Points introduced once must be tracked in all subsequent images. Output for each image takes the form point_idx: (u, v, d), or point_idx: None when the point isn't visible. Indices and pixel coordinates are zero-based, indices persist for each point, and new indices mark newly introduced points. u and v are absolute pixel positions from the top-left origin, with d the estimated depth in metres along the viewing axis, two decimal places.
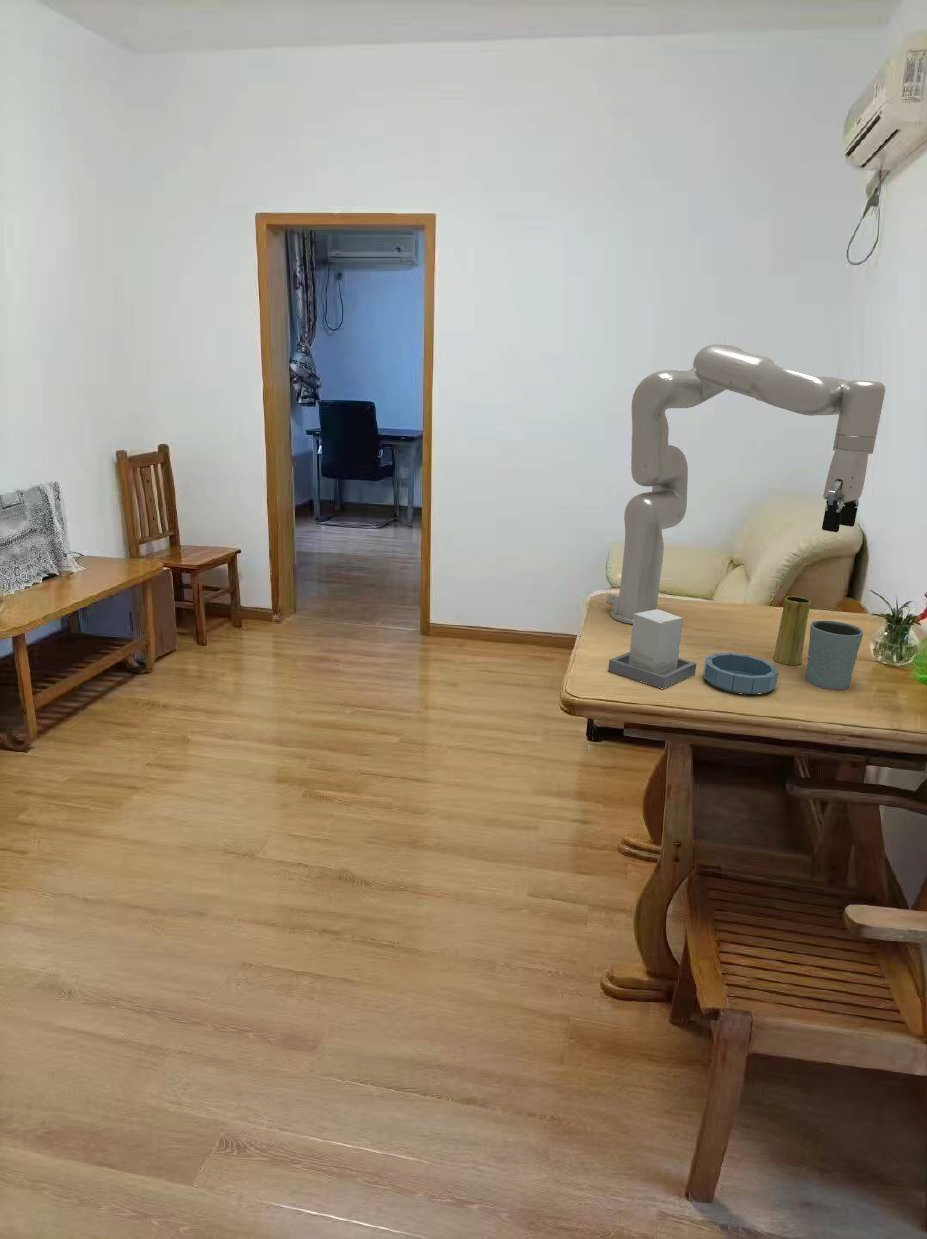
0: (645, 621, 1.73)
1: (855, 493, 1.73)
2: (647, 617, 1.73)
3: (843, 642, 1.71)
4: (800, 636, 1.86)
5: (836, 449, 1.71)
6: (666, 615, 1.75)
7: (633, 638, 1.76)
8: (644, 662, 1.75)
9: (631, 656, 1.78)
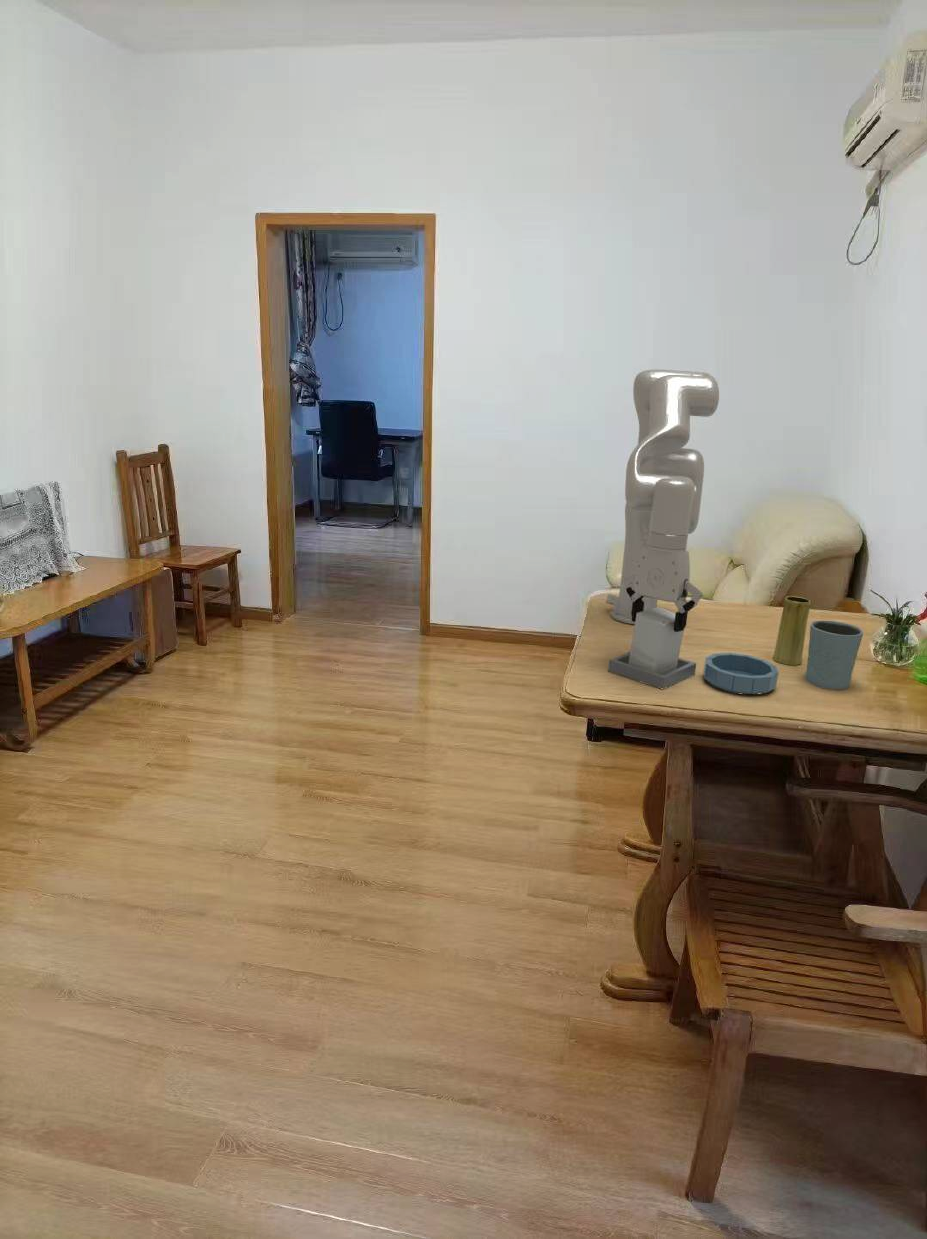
0: (648, 621, 1.72)
1: None
2: (650, 617, 1.72)
3: (843, 642, 1.71)
4: (800, 636, 1.86)
5: (674, 550, 1.66)
6: (669, 615, 1.73)
7: (635, 637, 1.75)
8: (645, 661, 1.74)
9: (632, 654, 1.77)
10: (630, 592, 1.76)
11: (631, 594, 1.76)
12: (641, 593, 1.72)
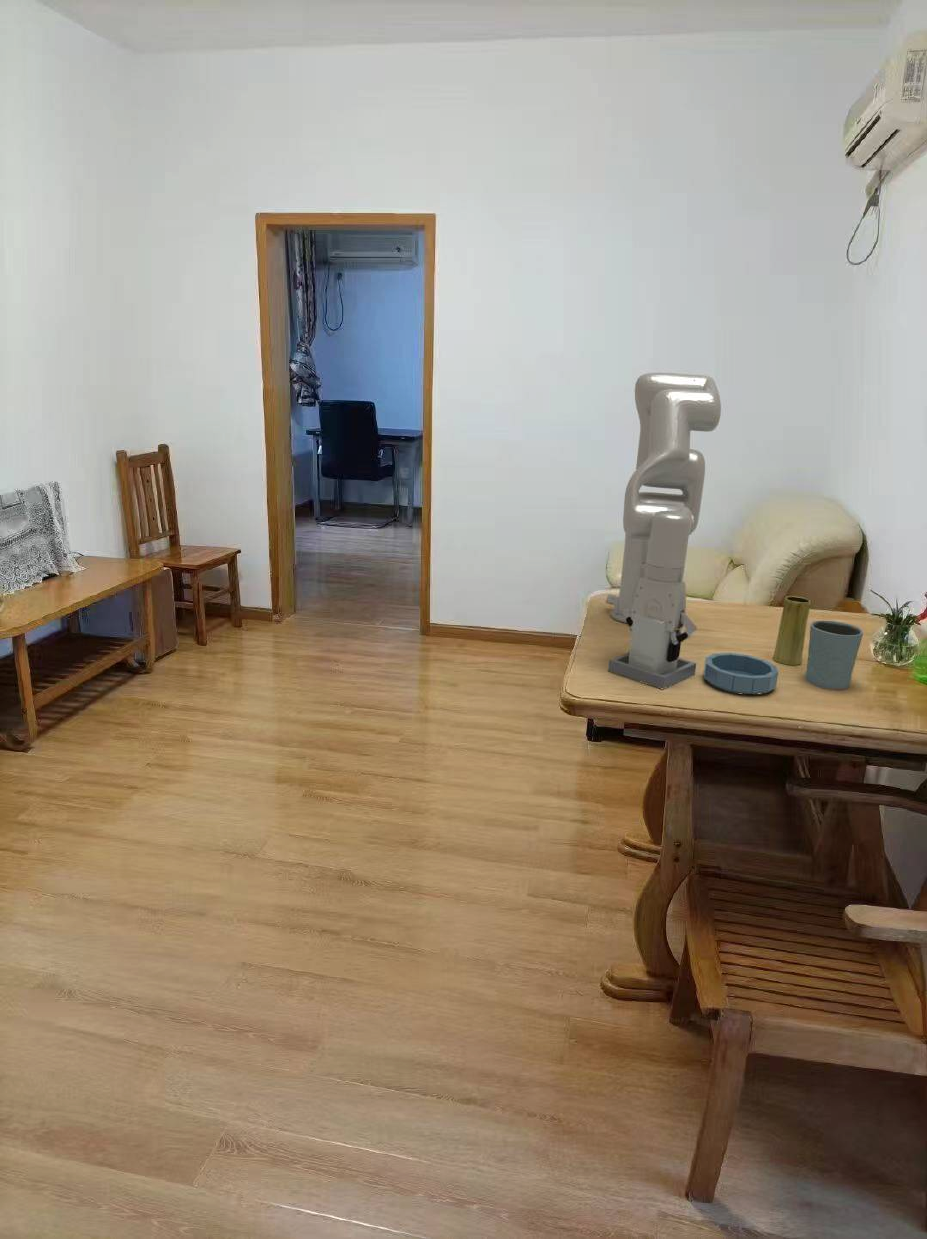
0: (645, 621, 1.73)
1: None
2: (648, 617, 1.73)
3: (843, 642, 1.71)
4: (800, 636, 1.86)
5: (670, 583, 1.69)
6: None
7: (633, 638, 1.76)
8: (645, 662, 1.74)
9: (631, 657, 1.77)
10: (629, 622, 1.79)
11: (630, 624, 1.79)
12: None
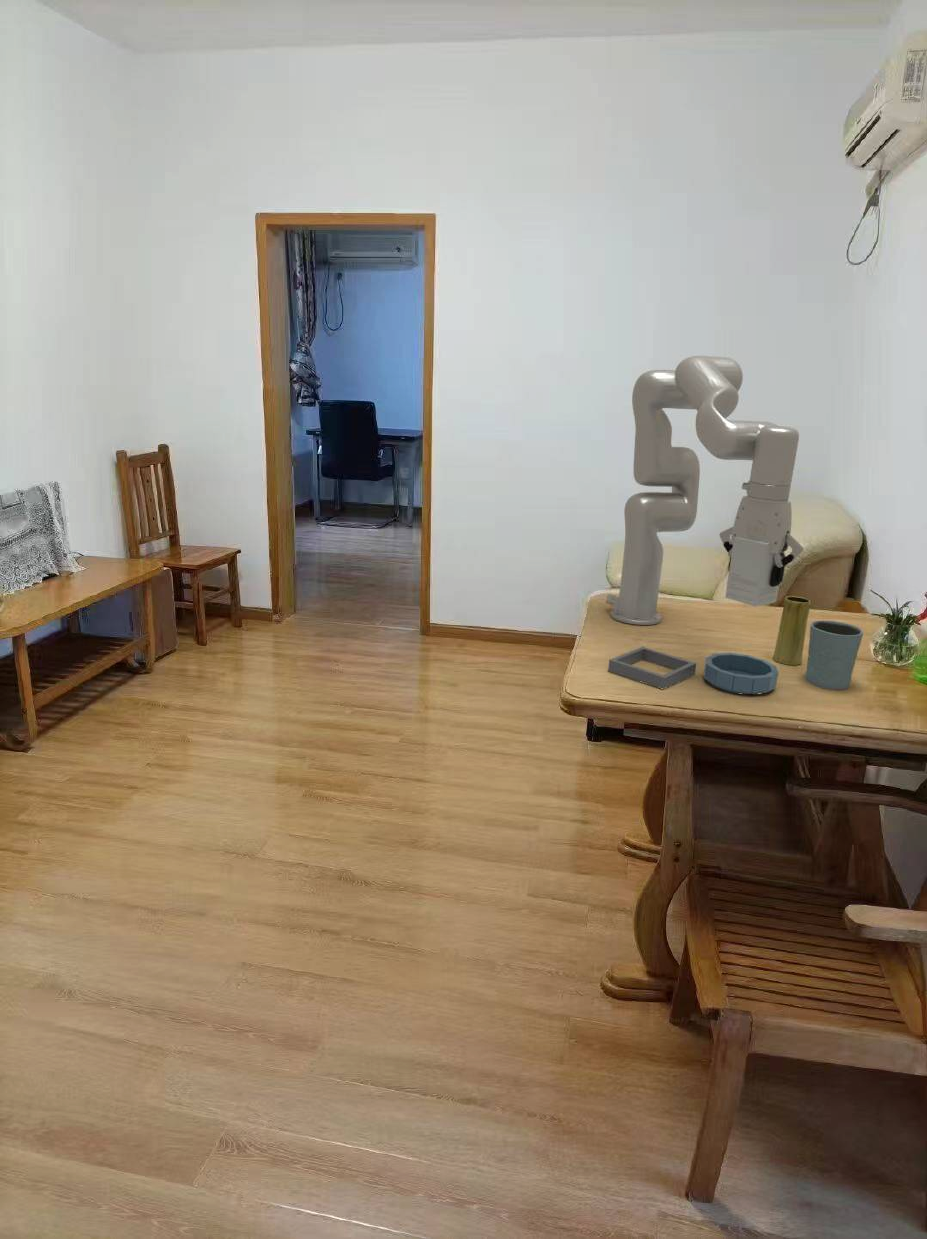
0: (747, 543, 1.64)
1: None
2: (750, 539, 1.65)
3: (843, 642, 1.71)
4: (800, 636, 1.86)
5: (777, 501, 1.60)
6: None
7: (733, 563, 1.68)
8: (746, 587, 1.66)
9: (730, 582, 1.69)
10: (728, 547, 1.70)
11: (728, 549, 1.70)
12: None
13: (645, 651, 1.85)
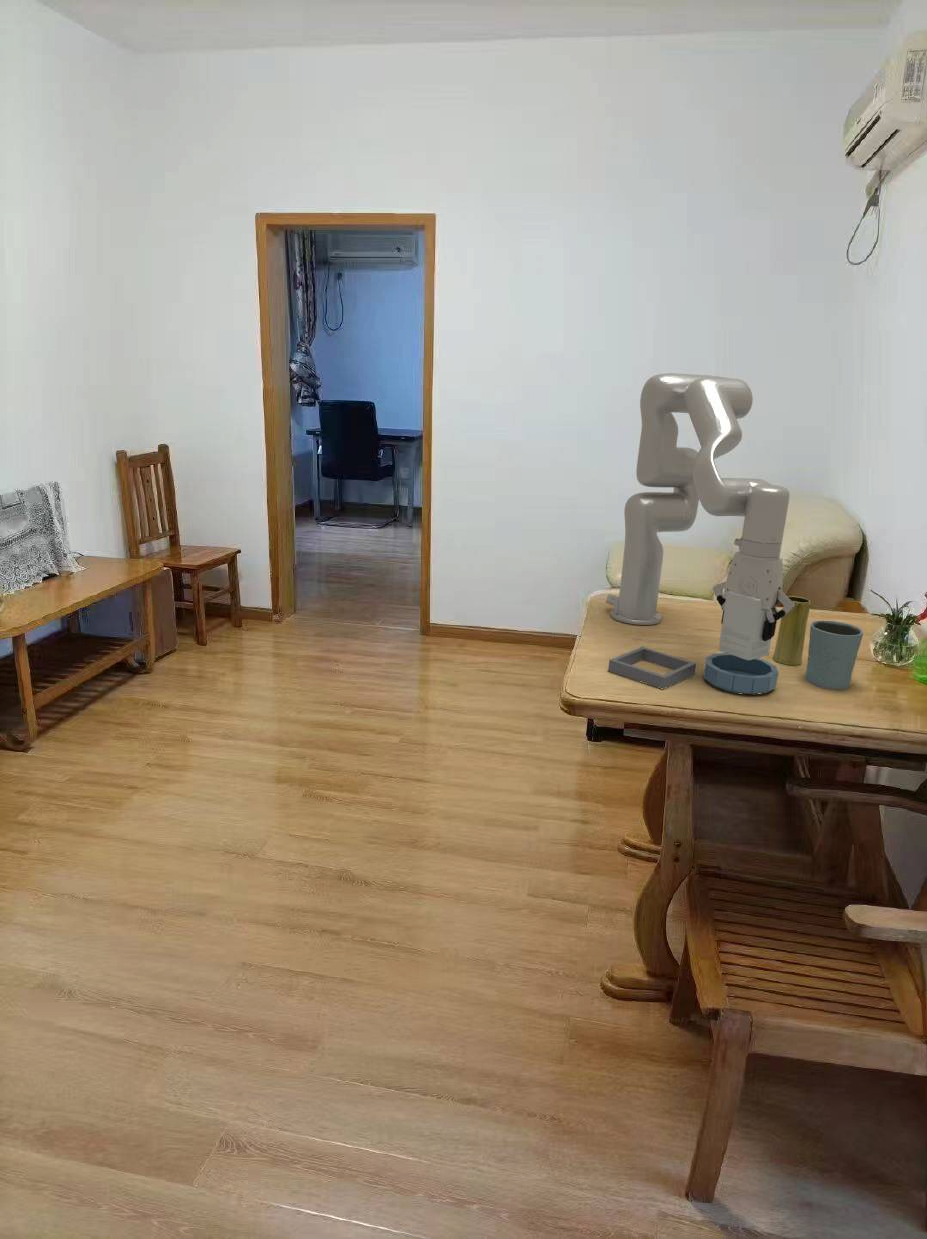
0: (740, 599, 1.68)
1: None
2: None
3: (843, 642, 1.71)
4: (800, 636, 1.86)
5: (768, 559, 1.64)
6: None
7: (725, 617, 1.71)
8: (739, 641, 1.69)
9: (723, 636, 1.72)
10: (721, 600, 1.74)
11: (721, 603, 1.74)
12: None
13: (645, 651, 1.85)
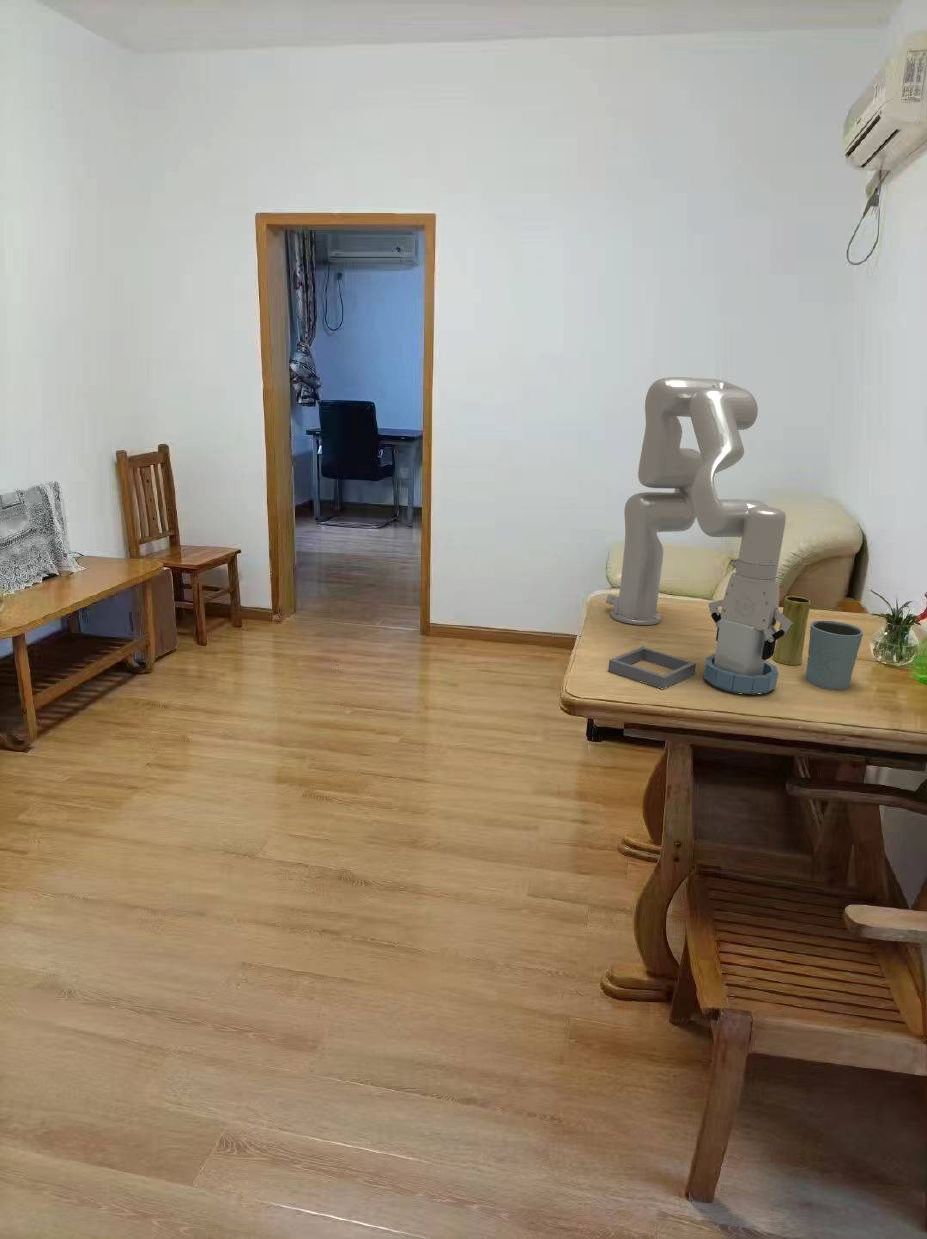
0: (734, 627, 1.70)
1: None
2: None
3: (843, 642, 1.71)
4: (800, 636, 1.86)
5: (765, 580, 1.65)
6: None
7: (719, 644, 1.73)
8: (733, 668, 1.71)
9: (717, 663, 1.74)
10: (715, 618, 1.75)
11: (716, 620, 1.75)
12: (728, 620, 1.71)
13: (645, 651, 1.85)
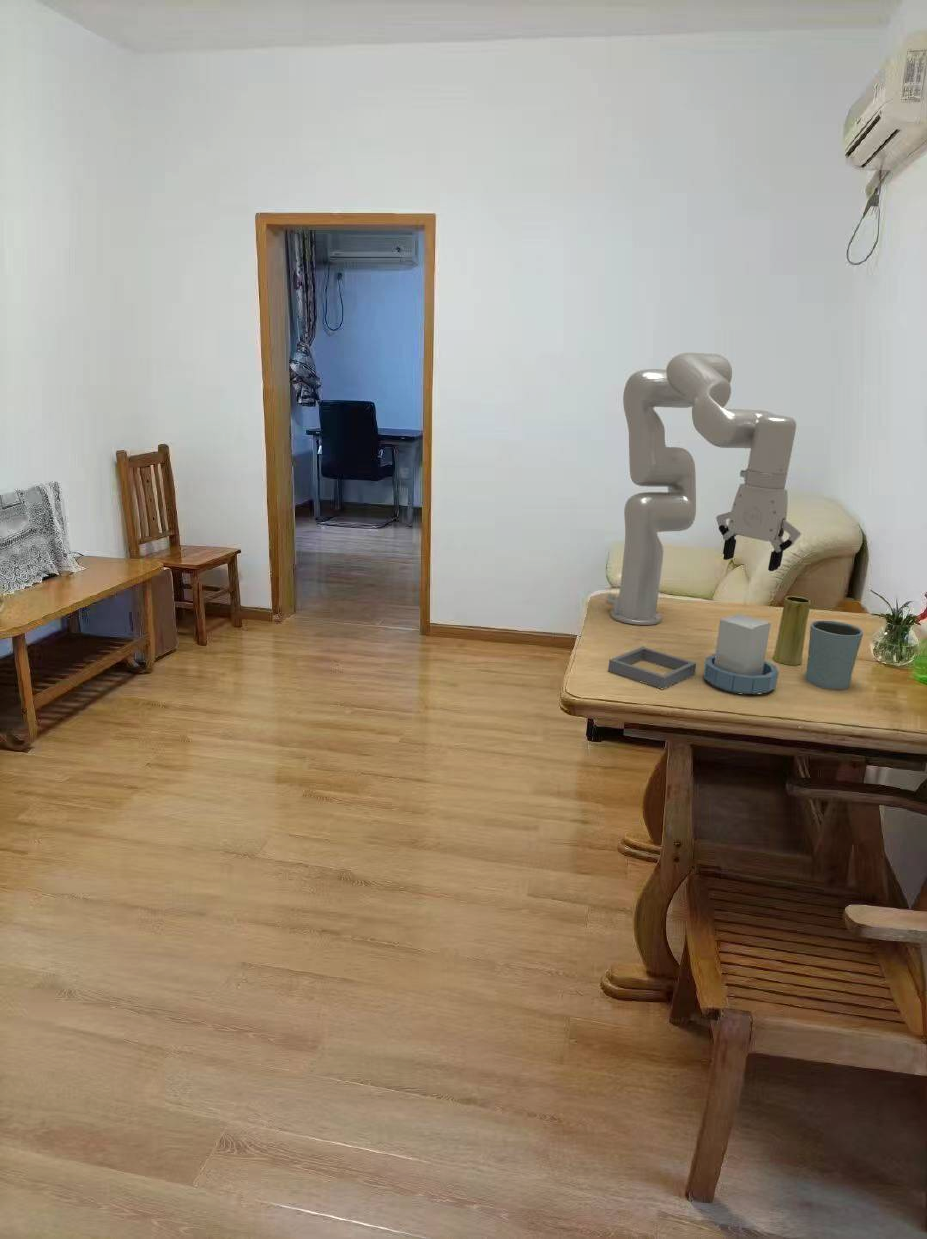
0: (734, 627, 1.70)
1: None
2: (736, 622, 1.70)
3: (843, 642, 1.71)
4: (800, 636, 1.86)
5: (773, 489, 1.64)
6: (752, 620, 1.72)
7: (719, 644, 1.73)
8: (733, 668, 1.71)
9: (717, 663, 1.74)
10: (723, 530, 1.75)
11: (724, 532, 1.75)
12: (736, 531, 1.71)
13: (645, 651, 1.85)
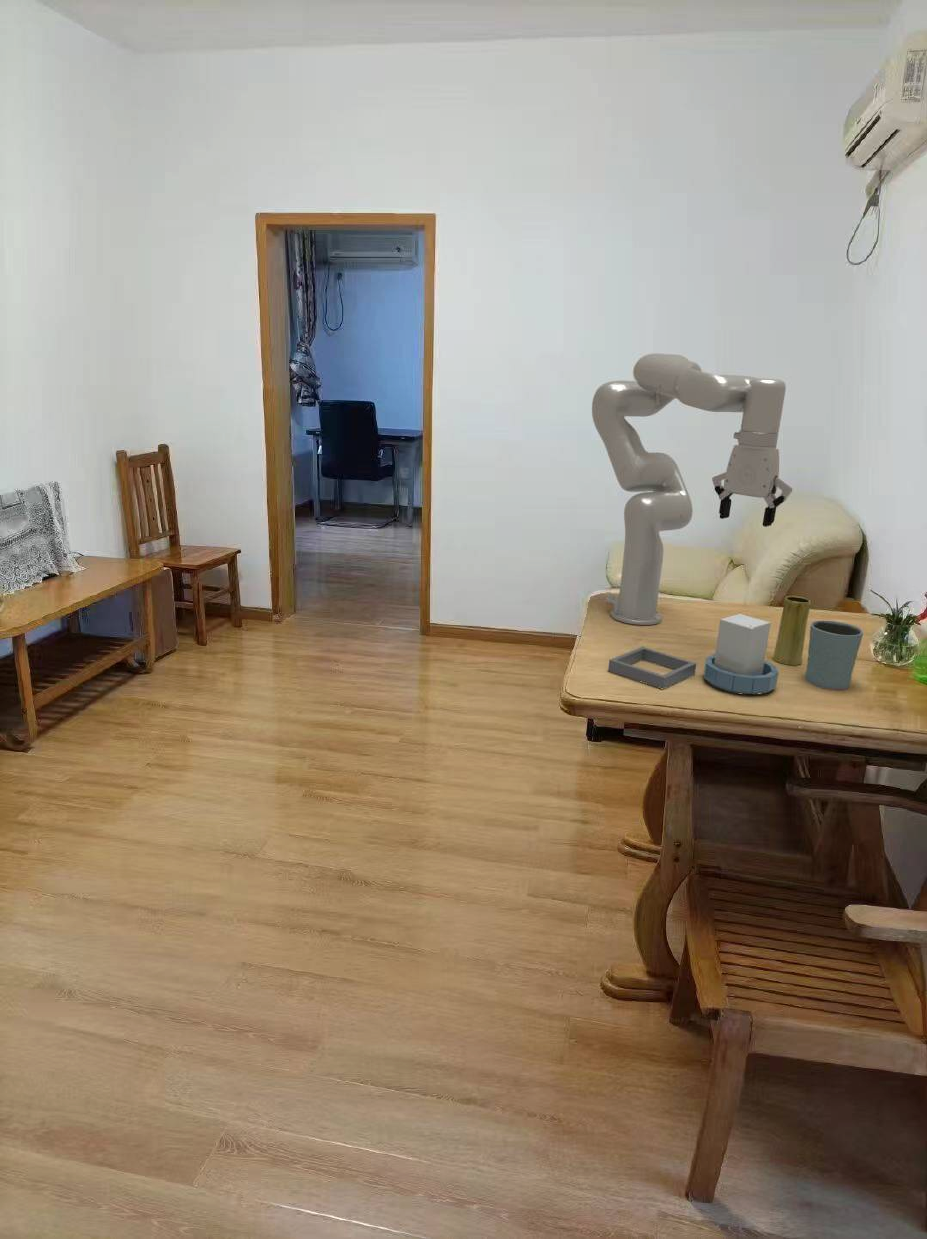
0: (734, 627, 1.70)
1: None
2: (736, 622, 1.70)
3: (843, 642, 1.71)
4: (800, 636, 1.86)
5: (766, 448, 1.74)
6: (752, 620, 1.72)
7: (719, 644, 1.73)
8: (733, 668, 1.71)
9: (717, 663, 1.74)
10: (718, 490, 1.84)
11: (719, 492, 1.84)
12: (731, 490, 1.80)
13: (645, 651, 1.85)
